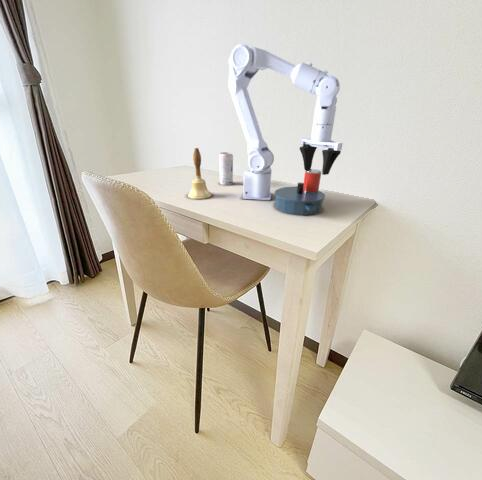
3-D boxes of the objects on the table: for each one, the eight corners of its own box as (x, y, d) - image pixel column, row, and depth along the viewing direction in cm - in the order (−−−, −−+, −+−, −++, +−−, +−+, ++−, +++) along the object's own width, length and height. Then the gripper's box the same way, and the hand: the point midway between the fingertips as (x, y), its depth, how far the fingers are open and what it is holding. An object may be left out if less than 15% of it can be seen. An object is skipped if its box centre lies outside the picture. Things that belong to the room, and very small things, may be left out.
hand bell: (183, 197, 89) (178, 149, 82) (195, 191, 96) (192, 146, 89) (204, 200, 87) (201, 150, 79) (215, 193, 93) (214, 147, 86)
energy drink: (233, 182, 109) (233, 152, 103) (231, 185, 104) (231, 154, 98) (220, 181, 109) (220, 152, 104) (218, 185, 104) (218, 154, 99)
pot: (287, 220, 72) (289, 206, 70) (267, 198, 90) (268, 187, 88) (334, 217, 75) (337, 204, 73) (305, 196, 92) (307, 185, 90)
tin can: (303, 192, 81) (305, 171, 78) (302, 188, 85) (304, 168, 82) (319, 193, 80) (322, 172, 77) (317, 189, 84) (320, 169, 81)
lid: (284, 206, 73) (285, 191, 71) (268, 190, 86) (269, 178, 84) (334, 203, 75) (337, 189, 73) (311, 188, 89) (312, 176, 87)
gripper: (353, 125, 71) (343, 175, 77) (314, 123, 82) (308, 166, 88) (335, 126, 68) (327, 177, 74) (297, 123, 79) (293, 168, 85)
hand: (316, 171), depth 81 cm, fingers open, 7 cm apart
